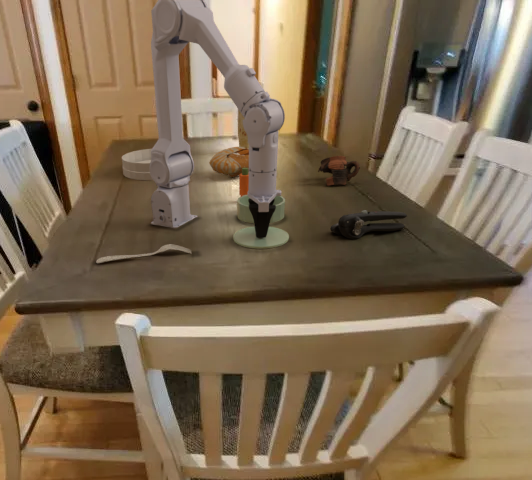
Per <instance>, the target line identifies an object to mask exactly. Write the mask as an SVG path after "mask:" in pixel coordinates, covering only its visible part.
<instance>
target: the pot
mask: <svg viewBox="0 0 532 480" xmlns="http://www.w3.org/2000/svg"><path fill="white" fill-rule="evenodd" d="M248 199H249V197H248V194H247V195H243V196H241V197H240V196H239V197H238V198H237V200H236V217H237V219H238V220H239V221H241V222H245V223H249V224H253V225H254V220H253V216H252V214H251V212H250V210H249V202H248ZM274 199H275V201H274V203H273V205H276V209H275V212H274V213H273V215H272V217H271V220H270V223H269V224H274V223H277V222H279V221H281V220H283V219H284V218H285V214H286V213H285V212H286V198H285V197H284V196H283V195H281V196H276V197H275V198H274Z"/></svg>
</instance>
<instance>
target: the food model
mask: <svg viewBox="0 0 532 480" xmlns="http://www.w3.org/2000/svg"><path fill="white" fill-rule="evenodd" d="M244 119H245V118H244V117H243V115H242V114H241V112H240V111H239V109H238V108H237V138H238V147H244V148H249V143H248V136H247V133H246V132H245V130H244V127H243V120H244Z"/></svg>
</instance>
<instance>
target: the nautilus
mask: <svg viewBox="0 0 532 480" xmlns="http://www.w3.org/2000/svg"><path fill="white" fill-rule="evenodd" d="M208 163H209V166H210V167H211V169H212V170H213V172H216V173H218V174H221V175H224V176H228V177H230V178H236V177H237V178H238V177H239V174H242V168H248V173H249V148H244V147H239V146H233V147H228V148H224V149H222V150H220V151H218V152H216V153H215V154H214V155H212V157H211V158H210V159H209V162H208Z"/></svg>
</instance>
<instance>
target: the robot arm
mask: <svg viewBox="0 0 532 480" xmlns="http://www.w3.org/2000/svg"><path fill="white" fill-rule="evenodd" d="M150 13H151V24H152V34H151V41H150V49H151V62H152V75H153V85H154V87H153V88H154V97H155V98H154V99H155V109H156V123H157V133H158V135H157V136H158V139H157V141H156V142H155V144H154V145H153V147H152V148H151V149H152V150H151V162H150V168H149V169H150V174H151V177H152V179H153V180H152V181H153V182H154V183H155V185H156V186H157V187H156V189H155V190H154V191H153V192H152V193H151V196H150V204H151V213H152V221H151V222H150V224H151V225H154V226H161V227H166V228H171V229H177V228H179V227H180V226H182V225H185V224H186V223H188V222H191V221H193V219H195V218H198V215H196V214H191V202H190V186H189V182H190V181H191V176H192V175H193V173H194V171H195V162H194V159H193V156H192V152H191V145H190V144H189V143H188V142H187V141H186V139H185V138H184V134H183V131H184V130H183V113H182V111H183V110H182V95H181V78H180V59H179V56H180V54H181V53H182V51H183V50H184V49H185V47H186V46H187V45H188V44H189V43H192V44H197V45H199V47H200V48H201V49H202V50H203V52H204V53H205V54H206V55H207V57H208V58H209V60H211V62H212V63H213V65H214V66H215V67H216V68H217V70H218V71H219V73H220V74H221V76H223V77H224V83H223V88H224V90H225V92H226V93H227V95H228V96H229V98H230V99H231V101H232V102H233V103H234V105H235V107H236V108H237V110H238V109H239V111H240V112H241V114H242V115H243V117H244V118H245V119H244V120H243V127H244V130H245V132H246V133H247V136H248V143H249V172H248V173H249V191H248V197H249V199H248V202H249V210H250V212H251V214H252V216H253V220H254V224H253V225H254V227H255V232H256V237H257V238H263V237H266V236H267V232H268V228H269V227H270V224H271V223H270V220H271V217H272V215H273V213H274V212H275V209H276V205H273V203H274V201H275V199H274V198H275V197H276V196H282V193H283V192H282V190H281V189H277V174H278V173H277V171H278V155H279V153H278V151H279V133H280V130H281V129H282V128H283V126H284V124H285V119H286V116H285V115H286V114H285V109H284V107H283V105H282V103H281V101H279V99H275V98H271V96H270V94H269V92H268V91H266V90H265V89H264V88H263V86H262V85H261V83H260V82H259V80H258V79H257V77H256V74H257V72H256V71H255V69H254V68H253V67H250V66H248V65H246V64H239V62H238V60H237V58H236V56H235V55H234V53H233V52H232V49H230V47H229V45H228V43H227V41H226V39H225V37H224V36H223V34H222V33H221V31H220V29H219V28H218V25H217V24H216V23H215V20H214V12H213V11H212V10H211V8H210V7H208V5H207V3H206V1H205V0H157V2H156V3H154V6H153V7H152V9H151V12H150Z"/></svg>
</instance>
